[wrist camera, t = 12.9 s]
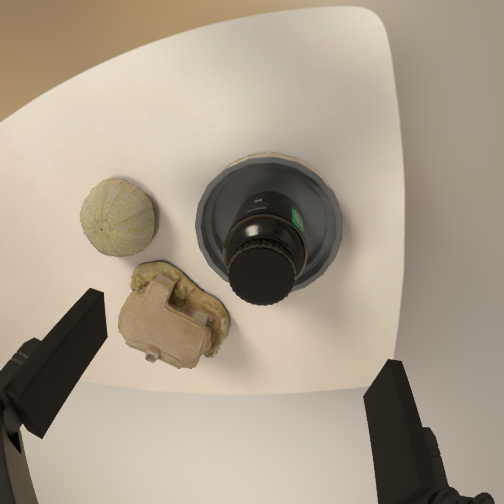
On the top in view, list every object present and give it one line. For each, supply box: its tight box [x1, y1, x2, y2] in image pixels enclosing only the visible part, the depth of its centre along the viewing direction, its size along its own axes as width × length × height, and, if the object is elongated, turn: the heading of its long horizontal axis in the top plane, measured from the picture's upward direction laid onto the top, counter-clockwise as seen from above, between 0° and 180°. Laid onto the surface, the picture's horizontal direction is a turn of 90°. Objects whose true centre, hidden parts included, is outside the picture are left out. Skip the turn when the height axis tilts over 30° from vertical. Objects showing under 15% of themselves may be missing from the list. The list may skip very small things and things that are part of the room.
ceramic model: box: [118, 262, 229, 369], centre depth 35 cm, size 14×11×10 cm
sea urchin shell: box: [80, 179, 155, 257], centre depth 33 cm, size 9×8×8 cm
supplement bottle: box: [223, 191, 307, 306], centre depth 27 cm, size 7×7×12 cm
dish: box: [195, 153, 342, 292], centre depth 32 cm, size 14×14×4 cm
